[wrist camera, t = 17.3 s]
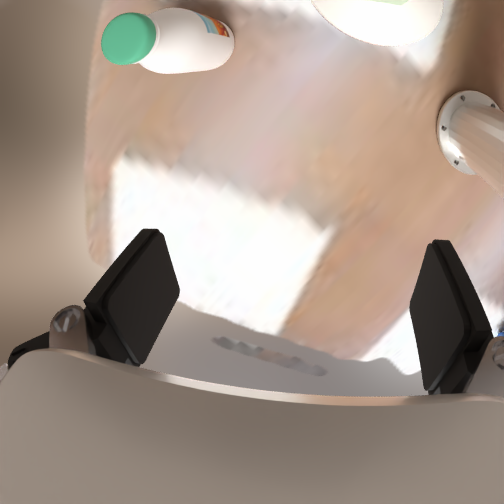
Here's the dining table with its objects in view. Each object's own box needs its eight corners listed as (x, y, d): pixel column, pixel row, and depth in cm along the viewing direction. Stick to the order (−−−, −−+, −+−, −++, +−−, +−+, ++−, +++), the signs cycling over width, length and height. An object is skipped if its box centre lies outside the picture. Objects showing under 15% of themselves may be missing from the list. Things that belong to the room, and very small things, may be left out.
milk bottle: (244, 57, 33) (180, 53, 17) (193, 78, 35) (104, 100, 20) (223, 10, 29) (145, -23, 13) (174, 34, 32) (75, 30, 16)
